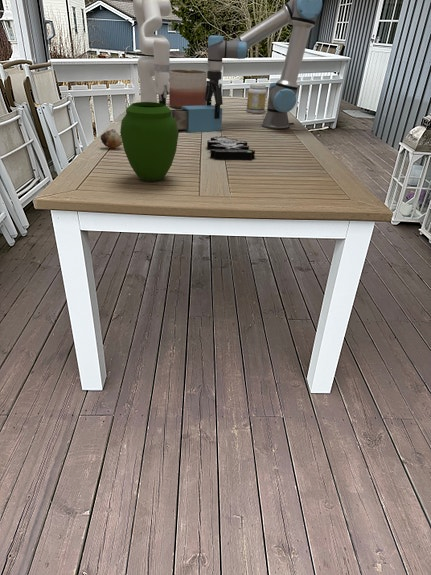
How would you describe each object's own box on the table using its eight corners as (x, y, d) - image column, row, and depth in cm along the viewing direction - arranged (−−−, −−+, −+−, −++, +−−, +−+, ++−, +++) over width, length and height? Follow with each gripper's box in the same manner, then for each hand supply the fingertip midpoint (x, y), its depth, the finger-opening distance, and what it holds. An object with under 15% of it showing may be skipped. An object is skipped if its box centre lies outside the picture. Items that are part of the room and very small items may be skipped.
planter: (200, 104, 298) (200, 69, 286) (210, 110, 277) (212, 73, 266) (165, 104, 290) (165, 69, 278) (174, 110, 270) (173, 72, 258)
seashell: (124, 147, 182) (123, 128, 178) (122, 150, 177) (120, 130, 173) (103, 146, 182) (101, 127, 178) (100, 149, 177) (98, 129, 173)
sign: (211, 151, 170) (204, 135, 195) (211, 159, 172) (203, 142, 197) (256, 152, 172) (243, 136, 198) (255, 159, 174) (242, 143, 199)
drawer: (159, 131, 209) (158, 112, 204) (153, 127, 216) (153, 109, 211) (201, 129, 218) (202, 110, 213) (195, 126, 225) (195, 107, 220)
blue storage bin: (188, 132, 215) (189, 109, 209) (181, 128, 223) (181, 105, 217) (221, 130, 222) (222, 108, 216) (213, 126, 230) (214, 105, 224)
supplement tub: (247, 109, 285) (249, 83, 276) (264, 111, 283) (267, 84, 274) (245, 112, 274) (248, 84, 265) (264, 114, 273) (266, 86, 264)
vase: (131, 189, 135) (125, 110, 122) (118, 172, 150) (112, 100, 137) (186, 184, 142) (187, 109, 129) (169, 168, 157) (167, 99, 144)
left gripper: (149, 66, 203) (151, 106, 213) (159, 70, 192) (160, 112, 202) (164, 66, 206) (164, 106, 216) (174, 70, 195) (174, 111, 205)
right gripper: (199, 68, 217) (198, 113, 229) (217, 72, 200) (215, 120, 212) (211, 68, 220) (210, 112, 232) (231, 73, 203) (228, 120, 214)
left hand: (162, 109), depth 209 cm, fingers closed
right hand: (212, 116), depth 222 cm, fingers closed on blue storage bin, 10 cm apart
